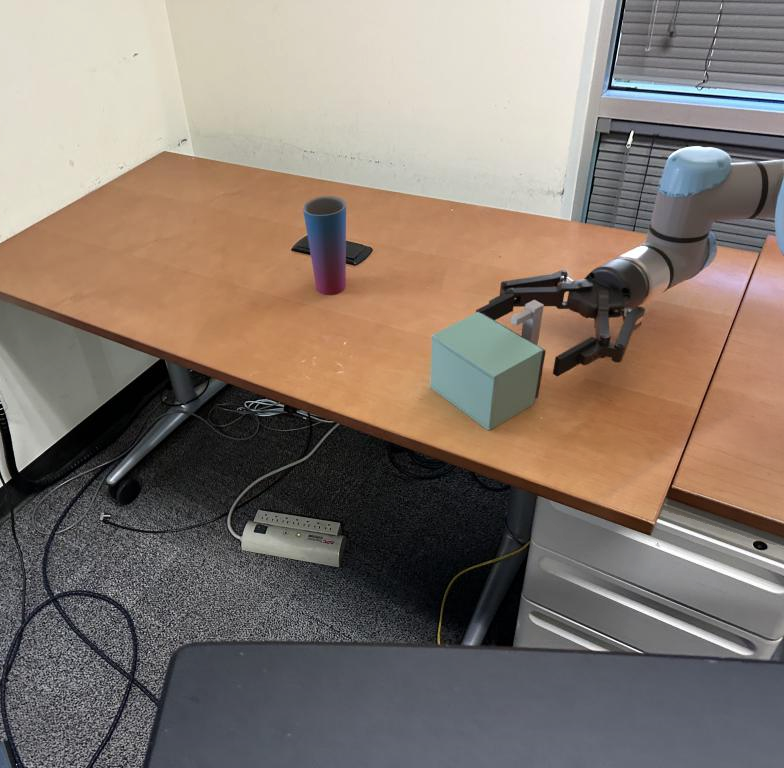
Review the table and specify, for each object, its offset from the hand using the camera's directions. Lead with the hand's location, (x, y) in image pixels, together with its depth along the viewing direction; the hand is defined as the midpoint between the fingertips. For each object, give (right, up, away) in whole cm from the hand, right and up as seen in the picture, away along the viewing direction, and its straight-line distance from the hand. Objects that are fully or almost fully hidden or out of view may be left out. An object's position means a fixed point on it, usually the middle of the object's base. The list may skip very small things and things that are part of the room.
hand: (514, 342), depth 90 cm
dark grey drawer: (-1, -5, +3) cm, 6 cm away
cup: (-22, +11, +28) cm, 37 cm away
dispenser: (-4, -7, +2) cm, 8 cm away
